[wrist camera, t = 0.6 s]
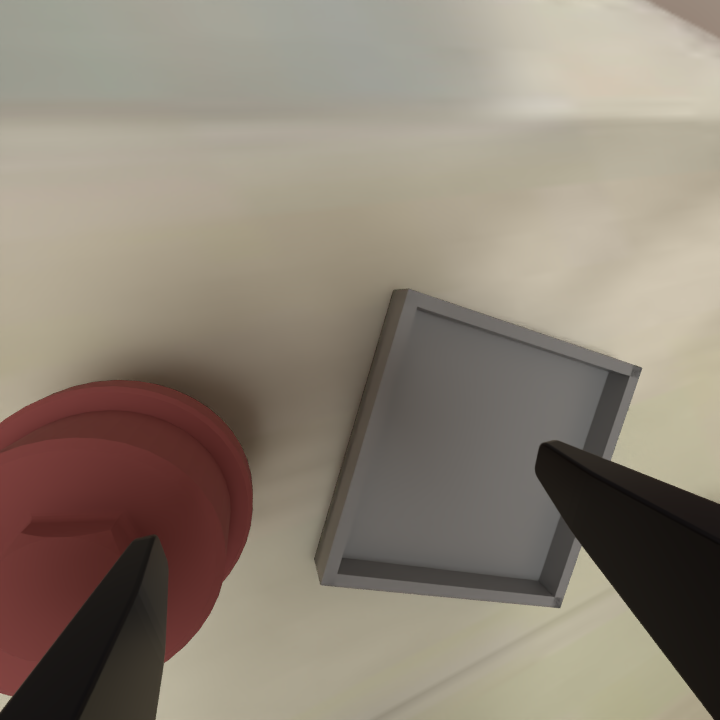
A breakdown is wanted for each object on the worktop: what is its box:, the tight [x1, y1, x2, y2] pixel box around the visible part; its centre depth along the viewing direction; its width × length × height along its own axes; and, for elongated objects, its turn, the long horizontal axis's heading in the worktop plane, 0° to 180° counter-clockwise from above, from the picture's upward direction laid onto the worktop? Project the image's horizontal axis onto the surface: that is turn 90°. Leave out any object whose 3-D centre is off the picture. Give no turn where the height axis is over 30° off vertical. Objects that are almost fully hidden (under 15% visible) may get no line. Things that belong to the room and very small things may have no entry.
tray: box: [314, 289, 642, 608], centre depth 27 cm, size 18×18×2 cm
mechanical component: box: [0, 380, 253, 696], centre depth 17 cm, size 12×10×10 cm
